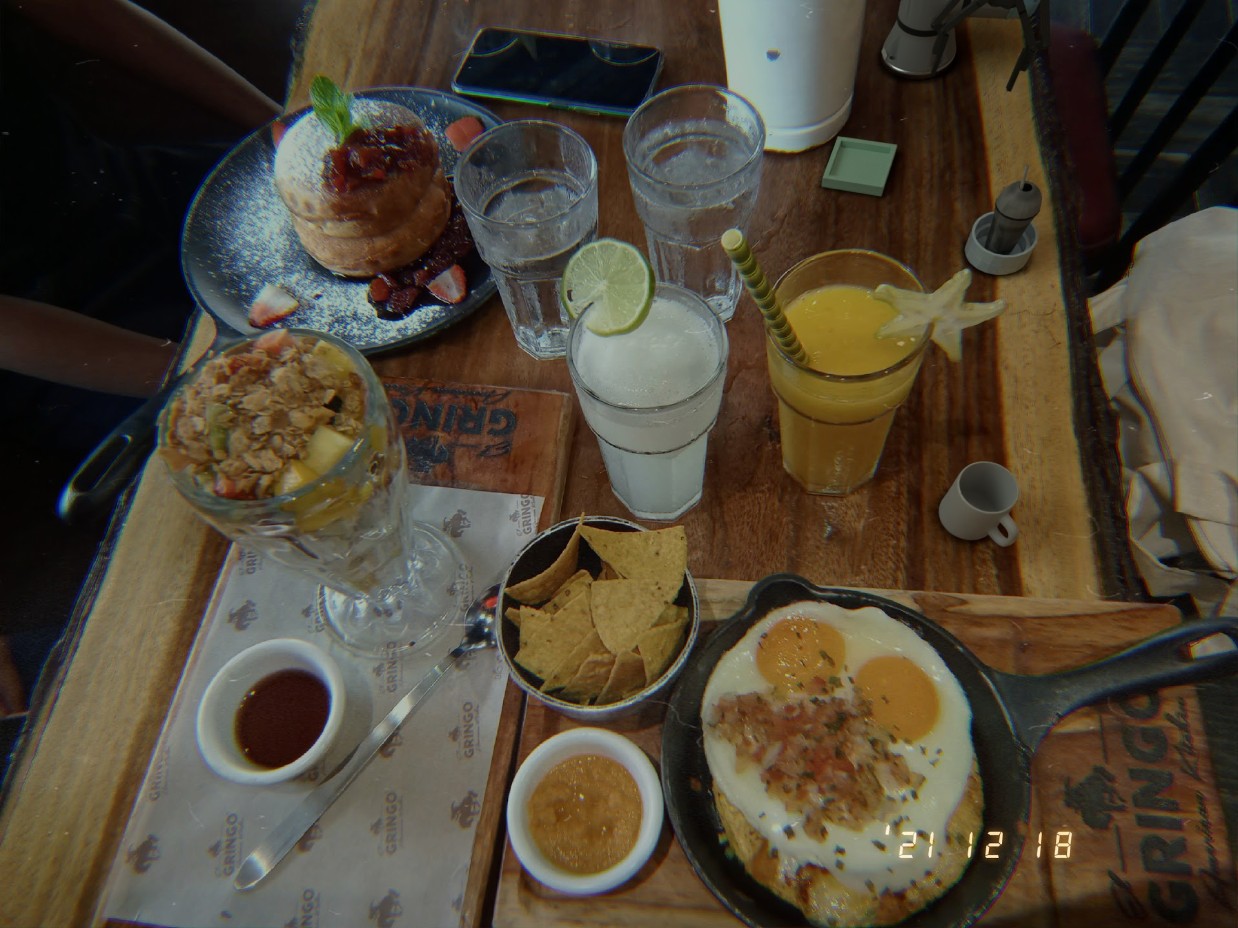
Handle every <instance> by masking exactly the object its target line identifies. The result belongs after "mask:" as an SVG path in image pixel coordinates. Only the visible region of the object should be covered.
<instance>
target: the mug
mask: <svg viewBox="0 0 1238 928" xmlns="http://www.w3.org/2000/svg"><path fill="white" fill-rule="evenodd" d="M1019 497H1020V487H1019V483H1018V481H1017V479H1016V477H1015V476H1014V474H1013V473H1012V472H1011V471H1010V470H1009V469H1007V468H1006V467H1005V466H1003V465H1001V464H999V463H996V462H993V461H975V462H973V463H971V464H968V465H967V466H965V467H964V468H963V469H962V470H961V471H960V472H959V473H958V476H957V477H956V478H955V480H954V482H953V483H952V485H950V487H949V489H948V491H947V492H946V493H945V495H944V496H943V497H942V500H941V501H940V504H939V506H938V516H939V517H938V518H939V520H940V522H941V524H942V526H943V527H944V529H946V531H947V532H948V533H950V534H951V535H952V536H954V537H956V538H958V539H962V540H966V541H977V540H981V539H984V538H985V537H988V536H989V537H990V538H991V539H992V540H993V542H994V543H996V545H998V546H999V547H1009V546H1011V545H1013V544H1014V543H1016V541H1017V540H1018V538H1019V537H1020V536H1019V535H1020V530H1019V527H1018V524H1017V523H1016V522H1015V520H1014V519H1013V518H1012V517H1011V516H1010V512H1011V511H1012V509H1013V508H1014V507H1015V506H1016V504H1017V502H1018V500H1019ZM1000 524H1001V525H1002V526H1003V527H1004V529H1005V530H1006V531H1007V534H1008V536H1007V537H1005V536H1004V534H1003V533H1002V532H1001V531H1000V530H999V528H998V526H999V525H1000Z"/></svg>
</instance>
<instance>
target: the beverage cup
mask: <svg viewBox="0 0 1238 928" xmlns="http://www.w3.org/2000/svg"><path fill="white" fill-rule="evenodd" d="M1024 167H1025V168H1024V171H1023V174H1022V177H1021V180H1018V181H1014V182H1011V183H1010V184H1008V185H1007V186H1005V187H1004V188H1003V189H1002V191H1001V192H1000V193H999V194H998V196H997V197H996V198H995V202H994V209H993V211H994V215H993V219H992V222H991V226H990V229H989V232H988V236H987V239H986V243H985V247H984V248H985V249H986V250H988V251H991V252H993V253H995V254H1000V255H1010V253H1011V252H1012V250H1013V249H1014V247H1015V246H1016V244H1017V243H1018V241H1019V239H1020V238H1021V236H1022V235H1023V233H1024V231H1025V230H1026V228H1027V227H1028V225H1029V223H1031V221H1032V222H1033V221H1034V219H1035V218H1036V216H1038V215H1039V213H1040V212H1041V208H1042V202H1043V195H1042V192H1041V189H1040V188H1039V187H1038V186H1037V184H1036V183H1034V182H1032V181H1029V180H1026V179H1027V175H1028V172H1029V168H1030V164H1029V163H1027V164H1026V165H1025V166H1024Z"/></svg>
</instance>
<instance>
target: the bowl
mask: <svg viewBox="0 0 1238 928" xmlns="http://www.w3.org/2000/svg"><path fill="white" fill-rule="evenodd" d="M993 215H994V210H993V211H990V212H987V213H984V214H982V215H981V216H980V217H978V218H977V219H976V220H975V222H974V223H973V224H972V227H971V230H970V232H969V234H968V236H967V240H966V243H965V246H964V253H965V257H966V259H967V261H968V262H969V264H971V265H972V266H973V267H975V269H977V270H979V271H981V272H983V273H985V274H990V275H995V276H1000V275H1001V276H1003V275H1004V276H1005V275H1010V274H1013V273H1016V272H1018V271H1020V270H1021V269H1022V268H1024V267H1025V265H1026V264H1027V263H1028V261H1029V259H1030V257H1031V255H1032V254H1033V252H1034V250H1035V247H1036V246H1037V244H1038V241H1039V236H1040V235H1039V230H1038V227H1037V226H1036V225H1035V223H1034V222H1033V220H1032V221H1031V223H1029V225H1028V227H1027V228H1026V230H1025V231H1024V233H1023V235H1022V236H1021V238H1020V239H1019V241H1018V243H1017V244H1016V246H1015V247H1014V249H1013V250H1012V252H1011V253H1010V255H1000V254H995V253H993V252H991V251H988V250H986V249H985V248H984V247H985V243H986V239H987V236H988V232H989V229H990V226H991V222H992V219H993Z"/></svg>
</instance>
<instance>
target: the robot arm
mask: <svg viewBox="0 0 1238 928" xmlns="http://www.w3.org/2000/svg"><path fill="white" fill-rule="evenodd" d="M1050 1H1051V0H900V2H899V7H898V12H897V17H896V21H895V22H894V25H893V27H892V28H891V30H890V32H889V34H888V36H887V37H886V39H885V41H884V43H883V46H882V49H881V55H880V60H881V64H882V66H883V68H884V69H885V70H886V71H887V72H889V74H891V75H893V76H896V77H898V78H900V79H906V80H910V81H922V80H928V79H932V78H935V77H938V76H940V75H942V74H944V73H945V72H946V71H948V69H950V67H951V66H952V64H953V63H954V60H955V56H956V53H957V41H956V30H955V27H956V26H958V25H959V24H961V22H963V21H964V20H966V19H967V18H973V19H974V18H977V19H998V20H999V19H1000V20H1004V21H1008V20H1020V21H1019V22H1021V27H1022V30H1023V33H1024V37H1025V39H1026V43H1027V46H1028V47H1027V48H1026V47H1022V49H1021V51H1020V53H1019V56H1018V58H1017V59H1016V63H1015V65H1014V67H1013V70H1012V72H1011V74H1010V77H1009V79H1008V82H1007V83H1006V86H1005V90H1006V92H1010V93H1012V90H1013V88H1014V86H1015V84H1016V81H1017V79H1018V77H1019V74H1020V72H1024V73H1026V71H1027V70H1028V69H1029V67H1030V65H1031V62H1032V60H1033V58H1034V56H1035V54H1036V53H1037V52H1038V51H1043V50H1044V51H1047V50H1049V48H1050V47H1051V11H1050V10H1051V9H1050V7H1051V5H1050ZM1038 7H1039V11H1040V12H1039V15H1040V21H1039V22H1040V40H1036V37H1035V34H1034V31H1033V27H1032V24H1031V20H1030V18H1029V17H1031V16H1032V15H1033V14H1034V13H1035V12H1036V10H1037V9H1038Z"/></svg>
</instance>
